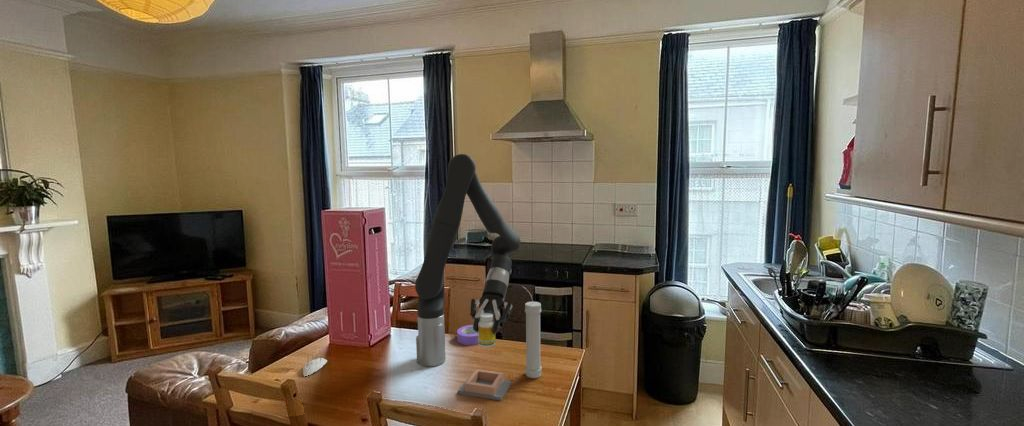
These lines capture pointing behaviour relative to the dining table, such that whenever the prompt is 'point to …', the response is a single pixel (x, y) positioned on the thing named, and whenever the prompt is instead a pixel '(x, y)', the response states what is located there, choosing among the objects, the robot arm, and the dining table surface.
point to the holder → (485, 385)
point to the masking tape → (467, 335)
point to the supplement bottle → (486, 330)
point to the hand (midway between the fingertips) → (484, 332)
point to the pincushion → (313, 366)
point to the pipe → (533, 339)
